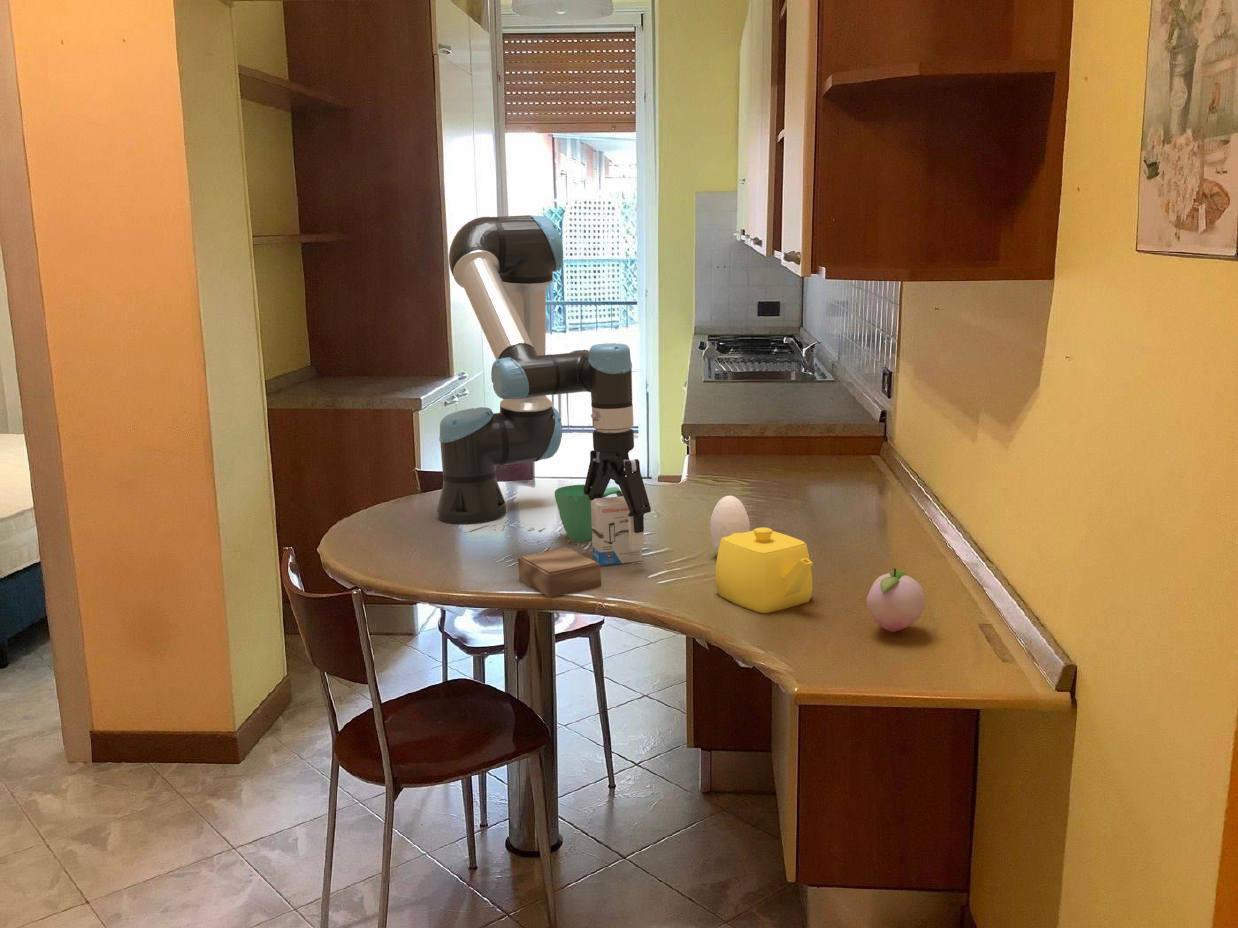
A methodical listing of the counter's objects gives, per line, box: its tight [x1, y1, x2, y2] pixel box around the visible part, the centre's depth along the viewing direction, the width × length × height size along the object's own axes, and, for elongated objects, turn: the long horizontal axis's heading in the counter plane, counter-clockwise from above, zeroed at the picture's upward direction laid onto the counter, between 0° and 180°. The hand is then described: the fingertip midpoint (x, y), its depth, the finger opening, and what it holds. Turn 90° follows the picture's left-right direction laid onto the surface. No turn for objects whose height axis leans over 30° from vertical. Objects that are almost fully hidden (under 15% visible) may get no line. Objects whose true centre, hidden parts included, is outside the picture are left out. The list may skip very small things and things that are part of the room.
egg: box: [709, 495, 751, 552], centre depth 194 cm, size 7×7×12 cm
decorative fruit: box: [866, 567, 926, 633], centre depth 155 cm, size 9×8×10 cm
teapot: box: [714, 527, 814, 614], centre depth 171 cm, size 20×12×12 cm, turn 32°
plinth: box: [517, 547, 602, 599], centre depth 183 cm, size 12×10×4 cm
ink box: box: [591, 496, 643, 567], centre depth 194 cm, size 9×5×12 cm, turn 106°
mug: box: [554, 484, 623, 542], centre depth 211 cm, size 15×10×10 cm
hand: (617, 540), depth 195 cm, fingers open, 13 cm apart
